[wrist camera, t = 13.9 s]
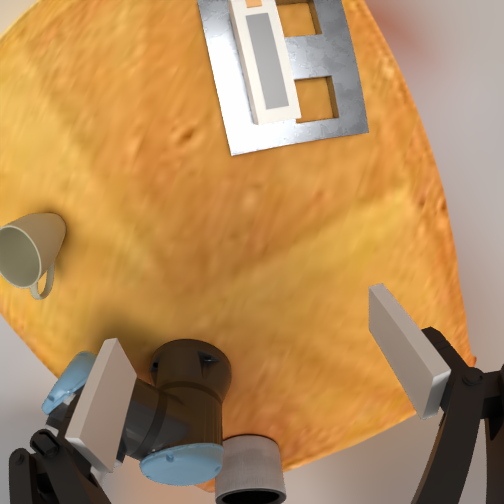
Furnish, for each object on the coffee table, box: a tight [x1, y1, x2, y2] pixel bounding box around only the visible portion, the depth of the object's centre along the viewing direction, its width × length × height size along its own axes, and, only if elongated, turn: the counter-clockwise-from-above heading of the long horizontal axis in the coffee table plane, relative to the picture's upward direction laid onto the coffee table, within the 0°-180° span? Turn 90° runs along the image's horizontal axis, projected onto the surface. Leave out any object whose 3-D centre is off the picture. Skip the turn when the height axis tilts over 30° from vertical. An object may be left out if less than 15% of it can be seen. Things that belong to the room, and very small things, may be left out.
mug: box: [0, 213, 66, 300], centre depth 39 cm, size 11×10×12 cm
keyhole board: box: [197, 0, 369, 156], centre depth 37 cm, size 19×23×2 cm
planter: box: [215, 435, 286, 504], centre depth 62 cm, size 16×16×16 cm
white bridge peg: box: [228, 0, 301, 125], centre depth 33 cm, size 5×16×10 cm, turn 11°
